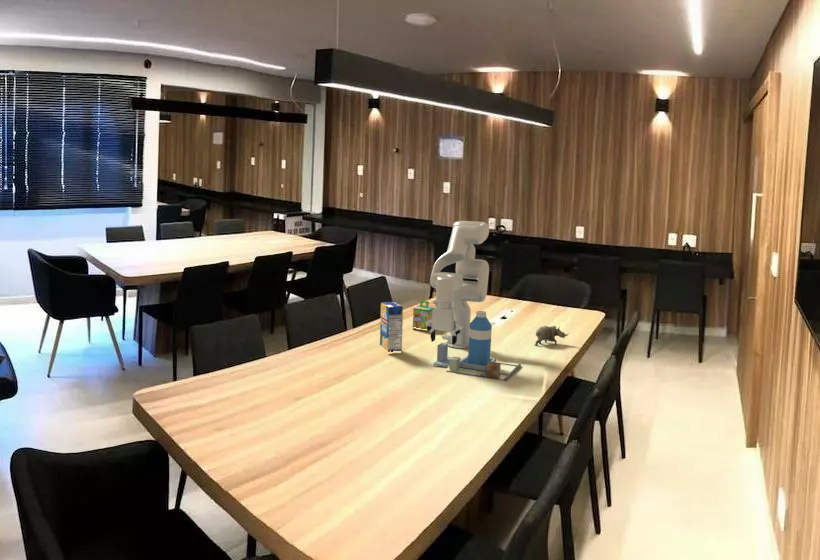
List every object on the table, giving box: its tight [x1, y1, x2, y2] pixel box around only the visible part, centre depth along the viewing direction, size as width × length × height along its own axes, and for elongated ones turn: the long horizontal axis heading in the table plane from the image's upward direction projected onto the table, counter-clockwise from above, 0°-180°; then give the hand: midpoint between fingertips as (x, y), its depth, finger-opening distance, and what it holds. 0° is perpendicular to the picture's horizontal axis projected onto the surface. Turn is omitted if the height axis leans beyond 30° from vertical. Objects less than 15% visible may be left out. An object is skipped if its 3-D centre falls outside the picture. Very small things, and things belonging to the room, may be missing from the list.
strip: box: [448, 356, 477, 375], centre depth 282 cm, size 10×6×6 cm, turn 67°
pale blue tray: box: [432, 342, 496, 371], centre depth 293 cm, size 24×13×8 cm, turn 67°
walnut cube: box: [486, 361, 502, 378], centre depth 277 cm, size 5×5×5 cm
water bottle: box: [467, 310, 493, 366], centre depth 288 cm, size 9×9×25 cm
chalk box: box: [412, 300, 435, 330], centre depth 357 cm, size 9×9×15 cm
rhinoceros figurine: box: [534, 325, 569, 347], centre depth 334 cm, size 8×14×15 cm
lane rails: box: [445, 357, 522, 382], centre depth 286 cm, size 26×23×2 cm
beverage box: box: [379, 301, 404, 352], centre depth 313 cm, size 7×11×22 cm, turn 21°
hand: (443, 342), depth 297 cm, fingers open, 9 cm apart
